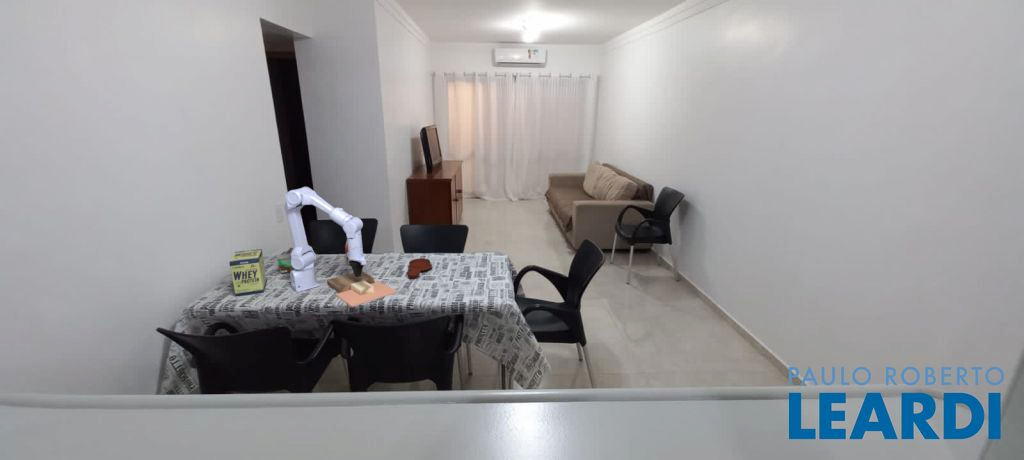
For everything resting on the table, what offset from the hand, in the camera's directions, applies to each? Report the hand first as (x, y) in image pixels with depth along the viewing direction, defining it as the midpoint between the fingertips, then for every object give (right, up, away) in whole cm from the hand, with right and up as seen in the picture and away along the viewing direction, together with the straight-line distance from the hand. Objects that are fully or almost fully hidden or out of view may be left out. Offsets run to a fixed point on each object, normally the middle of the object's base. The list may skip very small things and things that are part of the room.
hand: (358, 276), depth 178 cm
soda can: (-14, +3, +33) cm, 36 cm away
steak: (+21, -1, +21) cm, 30 cm away
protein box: (-48, -6, +3) cm, 48 cm away
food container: (-41, 0, +24) cm, 48 cm away
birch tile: (+2, -6, -1) cm, 6 cm away
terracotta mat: (+5, -7, -3) cm, 9 cm away
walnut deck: (-6, -4, +7) cm, 10 cm away
